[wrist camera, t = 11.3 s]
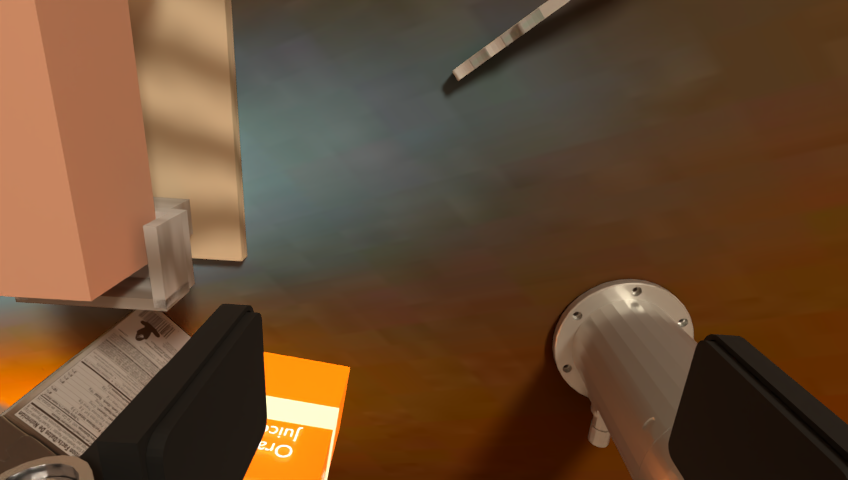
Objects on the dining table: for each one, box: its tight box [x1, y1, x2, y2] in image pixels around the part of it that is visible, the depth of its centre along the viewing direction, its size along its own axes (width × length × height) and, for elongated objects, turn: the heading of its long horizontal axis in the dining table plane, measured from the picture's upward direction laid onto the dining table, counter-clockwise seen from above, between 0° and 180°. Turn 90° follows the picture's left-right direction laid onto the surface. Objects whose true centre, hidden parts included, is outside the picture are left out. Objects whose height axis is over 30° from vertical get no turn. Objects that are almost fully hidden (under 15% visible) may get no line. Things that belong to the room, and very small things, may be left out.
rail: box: [0, 0, 156, 301], centre depth 25 cm, size 25×6×7 cm, turn 176°
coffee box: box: [0, 309, 191, 474], centre depth 37 cm, size 9×6×16 cm
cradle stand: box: [15, 0, 247, 311], centre depth 31 cm, size 32×11×12 cm, turn 176°
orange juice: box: [243, 352, 350, 480], centre depth 37 cm, size 8×9×20 cm
